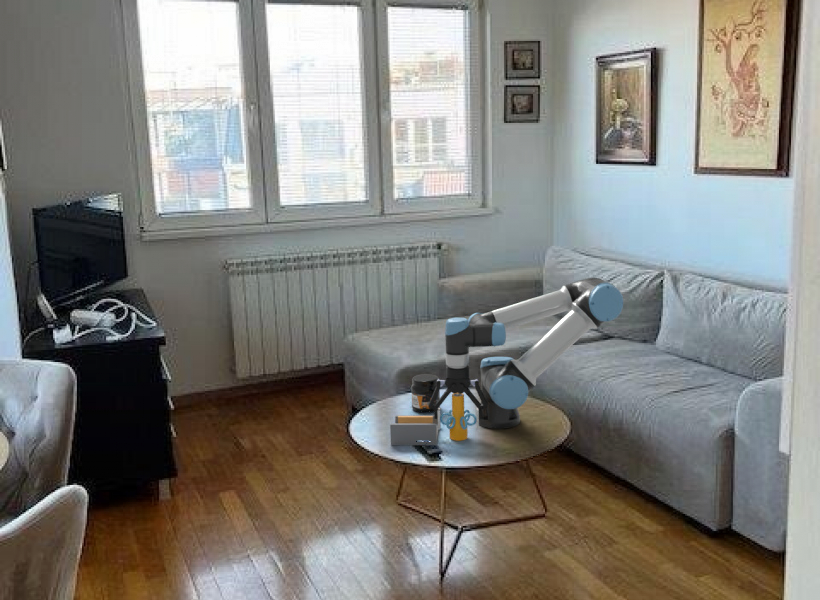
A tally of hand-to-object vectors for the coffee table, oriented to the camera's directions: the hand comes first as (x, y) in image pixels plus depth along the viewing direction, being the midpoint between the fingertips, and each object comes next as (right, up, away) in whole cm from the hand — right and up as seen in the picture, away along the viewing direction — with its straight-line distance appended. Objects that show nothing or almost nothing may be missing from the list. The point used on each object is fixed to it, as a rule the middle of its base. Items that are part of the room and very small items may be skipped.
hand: (458, 428), depth 279 cm
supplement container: (-10, +2, +31) cm, 33 cm away
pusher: (-14, -3, +5) cm, 15 cm away
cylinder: (0, -4, +1) cm, 4 cm away
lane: (-14, -3, +5) cm, 15 cm away
